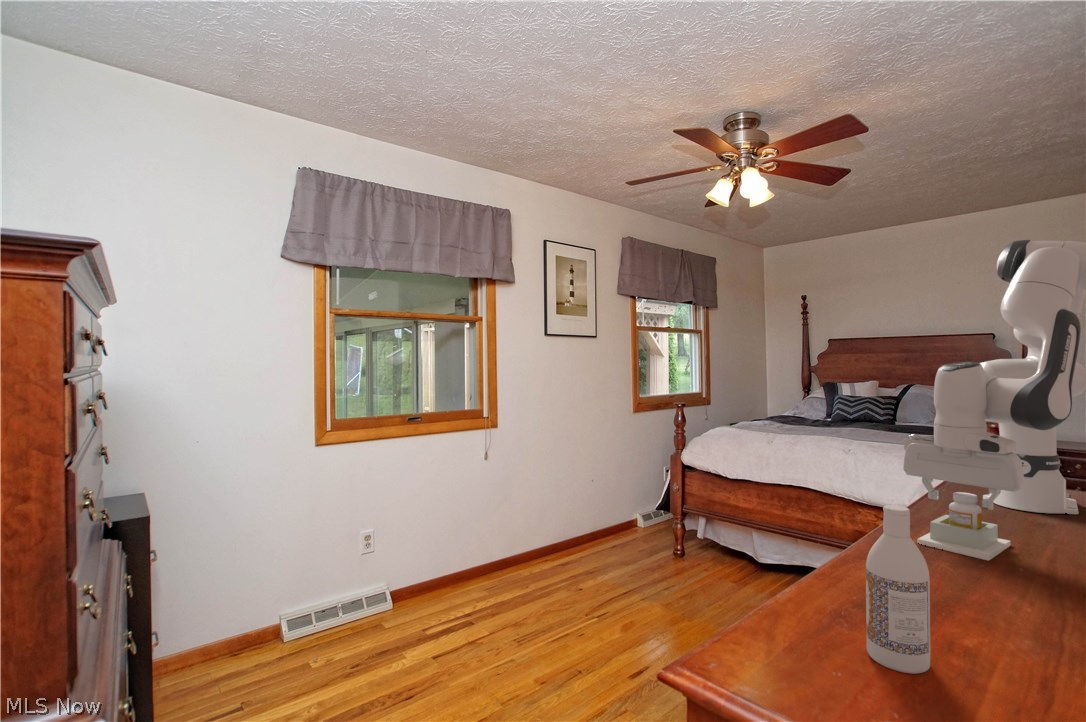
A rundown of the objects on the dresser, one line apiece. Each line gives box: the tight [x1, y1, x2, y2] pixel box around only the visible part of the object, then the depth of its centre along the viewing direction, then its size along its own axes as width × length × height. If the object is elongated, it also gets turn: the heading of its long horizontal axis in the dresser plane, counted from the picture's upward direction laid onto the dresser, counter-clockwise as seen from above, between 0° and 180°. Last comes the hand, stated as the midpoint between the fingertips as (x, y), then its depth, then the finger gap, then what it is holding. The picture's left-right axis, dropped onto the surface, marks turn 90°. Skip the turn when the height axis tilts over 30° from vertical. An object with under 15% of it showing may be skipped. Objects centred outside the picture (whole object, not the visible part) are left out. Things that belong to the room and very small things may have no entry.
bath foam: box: [865, 504, 931, 675], centre depth 69 cm, size 7×7×20 cm
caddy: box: [916, 514, 1012, 561], centre depth 111 cm, size 14×12×4 cm
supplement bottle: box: [948, 491, 983, 530], centre depth 111 cm, size 5×5×10 cm
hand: (959, 503), depth 112 cm, fingers open, 8 cm apart
